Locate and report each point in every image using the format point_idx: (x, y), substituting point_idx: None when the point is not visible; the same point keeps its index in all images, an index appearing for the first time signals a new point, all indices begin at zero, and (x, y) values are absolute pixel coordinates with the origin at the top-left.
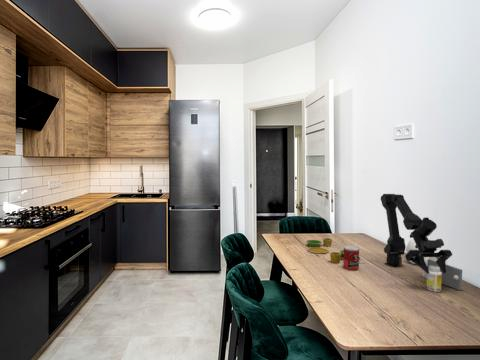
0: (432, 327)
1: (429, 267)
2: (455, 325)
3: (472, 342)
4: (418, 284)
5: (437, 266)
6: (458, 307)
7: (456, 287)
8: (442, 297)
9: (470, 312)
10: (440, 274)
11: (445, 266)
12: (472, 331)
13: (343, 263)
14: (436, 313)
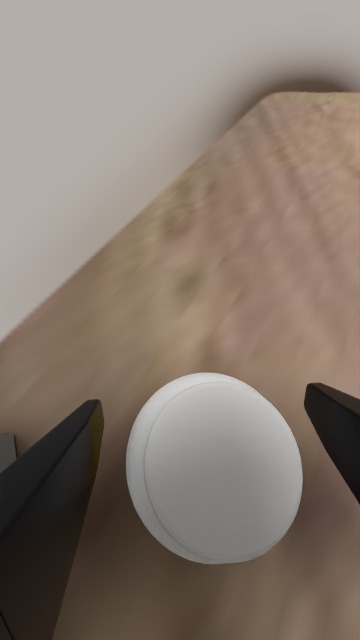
0: (351, 135)
1: (297, 471)
2: (277, 142)
3: (275, 93)
4: (264, 569)
5: (156, 486)
6: (190, 235)
7: (8, 459)
8: (202, 328)
9: (169, 203)
10: (172, 381)
11: (28, 450)
12: (245, 122)
13: None
14: (307, 195)
